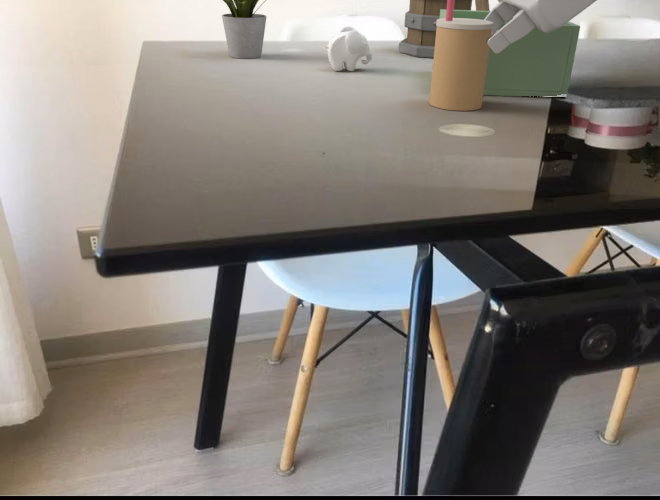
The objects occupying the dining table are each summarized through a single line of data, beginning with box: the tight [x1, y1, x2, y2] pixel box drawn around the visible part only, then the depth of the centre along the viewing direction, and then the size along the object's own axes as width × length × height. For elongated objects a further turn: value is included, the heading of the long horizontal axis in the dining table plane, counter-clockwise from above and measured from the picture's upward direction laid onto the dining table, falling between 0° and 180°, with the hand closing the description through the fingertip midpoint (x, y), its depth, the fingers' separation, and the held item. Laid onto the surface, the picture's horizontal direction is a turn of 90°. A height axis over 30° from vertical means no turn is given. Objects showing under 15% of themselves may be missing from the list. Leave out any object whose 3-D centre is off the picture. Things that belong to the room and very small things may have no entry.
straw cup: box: [428, 0, 494, 112], centre depth 73 cm, size 6×6×14 cm
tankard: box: [398, 0, 491, 59], centre depth 105 cm, size 20×13×15 cm, turn 30°
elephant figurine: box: [320, 25, 375, 72], centre depth 93 cm, size 7×8×6 cm
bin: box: [439, 9, 581, 98], centre depth 86 cm, size 16×16×9 cm
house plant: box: [221, 0, 267, 59], centre depth 99 cm, size 14×14×16 cm
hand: (483, 42), depth 72 cm, fingers open, 8 cm apart
